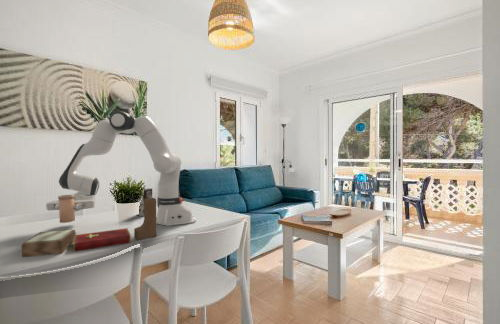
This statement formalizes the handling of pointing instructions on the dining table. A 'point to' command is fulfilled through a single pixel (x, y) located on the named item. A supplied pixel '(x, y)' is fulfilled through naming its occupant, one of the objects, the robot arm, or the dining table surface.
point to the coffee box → (146, 195)
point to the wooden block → (147, 221)
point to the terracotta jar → (66, 208)
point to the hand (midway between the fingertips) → (66, 207)
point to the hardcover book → (101, 239)
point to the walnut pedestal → (48, 243)
